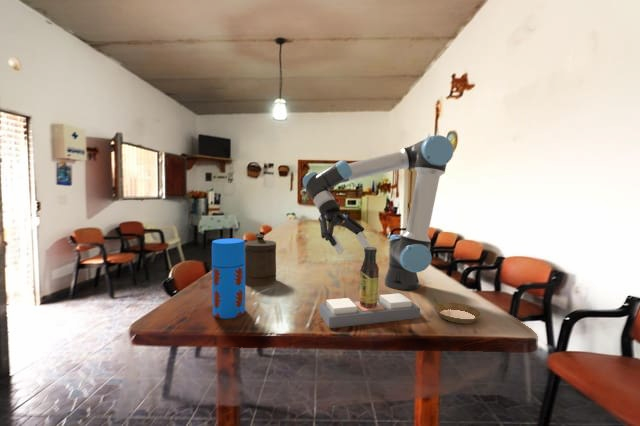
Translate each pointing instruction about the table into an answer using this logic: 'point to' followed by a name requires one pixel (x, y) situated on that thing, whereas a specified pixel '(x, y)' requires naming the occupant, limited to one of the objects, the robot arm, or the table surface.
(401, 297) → the key
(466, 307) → the tan shallow bowl
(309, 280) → the table surface
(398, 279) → the robot arm
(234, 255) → the thermos
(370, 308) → the key mid
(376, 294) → the sauce bottle
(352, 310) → the key
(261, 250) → the wooden container
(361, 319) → the key pad
